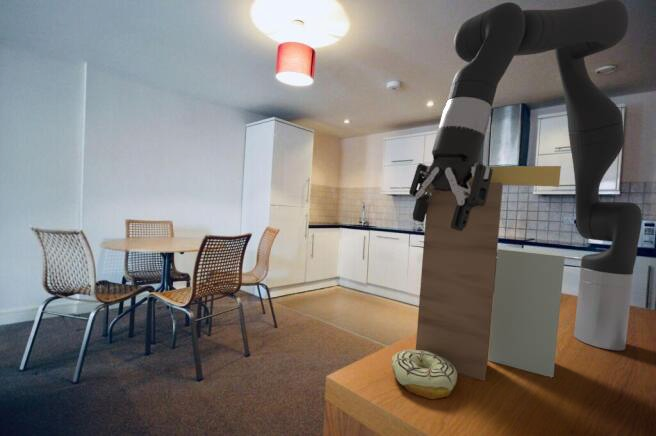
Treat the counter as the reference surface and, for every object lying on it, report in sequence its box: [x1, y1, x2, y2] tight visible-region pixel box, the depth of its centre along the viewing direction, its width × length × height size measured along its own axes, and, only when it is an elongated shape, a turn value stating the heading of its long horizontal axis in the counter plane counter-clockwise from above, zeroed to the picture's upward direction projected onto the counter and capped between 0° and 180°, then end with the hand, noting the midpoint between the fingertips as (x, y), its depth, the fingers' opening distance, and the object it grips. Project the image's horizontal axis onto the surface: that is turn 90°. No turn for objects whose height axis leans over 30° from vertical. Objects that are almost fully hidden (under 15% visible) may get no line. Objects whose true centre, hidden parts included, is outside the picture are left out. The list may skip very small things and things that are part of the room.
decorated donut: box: [391, 349, 458, 400], centre depth 53 cm, size 10×11×4 cm
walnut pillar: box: [415, 182, 504, 382], centre depth 59 cm, size 7×12×34 cm, turn 60°
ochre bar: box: [468, 165, 562, 187], centre depth 57 cm, size 3×20×3 cm, turn 60°
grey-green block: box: [488, 245, 566, 378], centre depth 62 cm, size 8×10×22 cm
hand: (435, 225), depth 54 cm, fingers open, 8 cm apart
